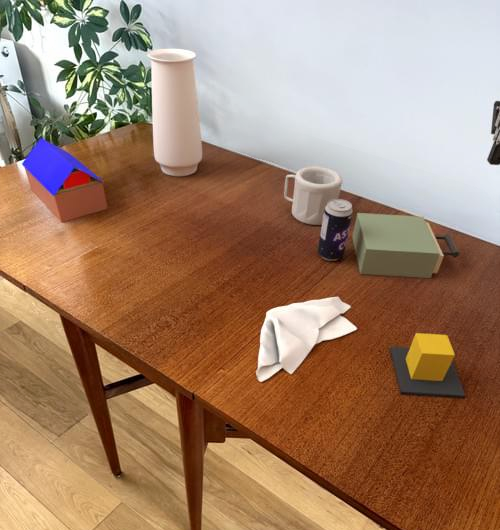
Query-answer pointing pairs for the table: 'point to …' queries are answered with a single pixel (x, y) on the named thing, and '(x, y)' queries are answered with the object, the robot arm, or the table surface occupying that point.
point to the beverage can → (335, 229)
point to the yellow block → (429, 357)
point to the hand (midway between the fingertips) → (493, 163)
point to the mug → (313, 193)
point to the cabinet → (394, 245)
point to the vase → (175, 112)
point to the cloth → (298, 333)
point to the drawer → (452, 248)
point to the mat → (424, 387)
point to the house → (63, 182)
